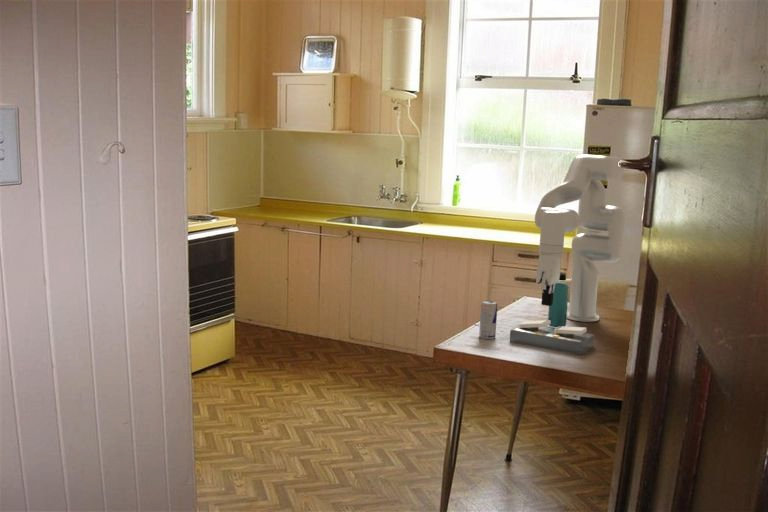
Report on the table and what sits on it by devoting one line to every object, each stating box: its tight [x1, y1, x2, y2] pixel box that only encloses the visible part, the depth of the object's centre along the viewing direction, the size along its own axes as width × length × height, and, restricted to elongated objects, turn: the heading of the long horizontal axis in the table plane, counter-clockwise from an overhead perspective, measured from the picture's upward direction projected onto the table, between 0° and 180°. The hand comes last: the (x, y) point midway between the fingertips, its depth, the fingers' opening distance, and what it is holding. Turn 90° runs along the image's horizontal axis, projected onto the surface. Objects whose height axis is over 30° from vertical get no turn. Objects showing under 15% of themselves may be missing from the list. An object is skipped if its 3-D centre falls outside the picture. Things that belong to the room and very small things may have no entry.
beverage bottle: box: [547, 272, 570, 328], centre depth 275 cm, size 6×7×20 cm
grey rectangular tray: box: [509, 324, 595, 356], centre depth 258 cm, size 12×24×5 cm, turn 58°
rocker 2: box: [554, 325, 587, 335], centre depth 254 cm, size 5×9×1 cm, turn 58°
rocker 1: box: [518, 319, 551, 328], centre depth 260 cm, size 5×9×1 cm, turn 58°
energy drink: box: [478, 300, 498, 340], centre depth 262 cm, size 5×5×12 cm
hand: (546, 304), depth 257 cm, fingers closed
